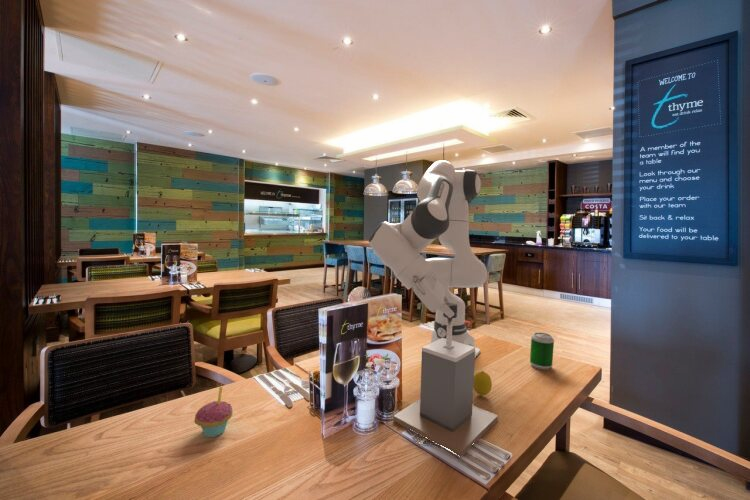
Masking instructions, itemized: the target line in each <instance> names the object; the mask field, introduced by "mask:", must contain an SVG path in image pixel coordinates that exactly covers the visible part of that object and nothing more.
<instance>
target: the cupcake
mask: <svg viewBox="0 0 750 500" xmlns="http://www.w3.org/2000/svg"><path fill="white" fill-rule="evenodd" d="M218 389H219V390H218V396H217V400H214V401H211V402H209V403H207V404H205V405H202V407H200V408H199V409H198V410H197V412H196V413H195V415H194V416H195V418H194V423H195V425H197V426H199V427H200V428H201V429H202V431H203V435H204V436H205V437H207V436H208V438H214V437H213V436H215V437H217V435H218V436H220V435H222V434H223V433H224V432H225V431H224V430H226V428H227V424H228V421H229V420H231V418H232V416H233V406H232V405H231V404H230V403H227V402H226V401H222V395H223V394H222V393H223V392H222V391H223V383H221V385H220V386H219V388H218ZM221 433H222V434H221Z"/></svg>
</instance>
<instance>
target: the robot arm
mask: <svg viewBox="0 0 750 500" xmlns="http://www.w3.org/2000/svg"><path fill="white" fill-rule="evenodd" d="M417 185H418V186H417V190H416V195H417V196H416V197H417V198H418V200H419V202H418V204H416V206H415V207H414V209H413V210H412V211H411V213H409V215H407V217H406V218H405V219H404V220H403V222H402V221H401V222H397V223H390V222H388V221H386V220H385V221H382V222H381V223H379V225H378V226H377V227H376V228H375V230H374V231H373V232H372V234H371V235H370V236H369V238H368V244H369V246H370V248H371V249H372V251H373V252H374V254H375V255H376V256H377V258H378V259H379V260H380V261H381V262H382V264H384V265H385V266H386V267H388V268H389V269H390V270H391V271H392V272H393V275H394V276H395V277H396V279H398V280H399V282H400V283H401V284H402V285H403V286H404V287H405V288H406V290H410V289H412V290H413V292H414V294H415V295H416V297H418V299H419V300H420V301H421V302H422V304H423V305H424V306H425V307H426V308H427V310H428V311H430V312H431V313H435V319H434V321H433V322H434V323H433V331H432V332H431V338H430V343H432V342H434V341H436V340H439V339H441V338H445V339H446V334H447V318H446V317H444V316H443V313H445V314H446V315H447V316H448V317H449V318H451V317H452V316H454V311H453V310H452V309H451V308H449V307H448V305H447V304H446V303H453V304H457V305H458V307H457V317H456V318H453V322H452V341H455V342H459V343H462V344H466V345H469V346H472V347H475V359H476V356H477V357H478V356H479V354H480V353H481V349H480V348H479V347H477V346H475V337H474V336H473V335H471V334H470V333H469V332H468V329H467V327H470V324H471V322H470V321H469V320H466V319H465V318H466V303H465V301H464V300H463V299H462V298H461V297H460V296H458V295H456V294H455V293H453V292H452V291H451V290H450V288H451V287H453V288H465V289H471V288H479V287H482V286H483V285H484V284H485V283H486V281H487V279H488V278H487V277H488V270H487V267H486V265H485V263H484V262H482V260H481V259H479V258H478V257H477V256H476V255H475V254H474V252H473V250H472V247H471V245H470V234H469V231H470V230H469V227H470V212H469V211H470V210H469V204H471V203H472V201H473V200H475V199H476V198H477V197H478V196H479V194H480V190H481V187H482V183H481V178H480V175H479V173H478V172H477V170H473V169H465V170H461V169H459V170H458V169H457V170H456V168H455V167H454V165H453V164H452V163H451V162H449V161H447V160H444V159H443V160H437V161H435V162H433V163H432V164H431V165H430V166H429V167H428V168H427V169H426V171H424V173H423V176H422V177H421V179H420V181H419V183H418V184H417ZM437 238H438V241H439V243H440V245H441V246H443V247H445V248H446V249H447V250H449V251H451V252H452V253H453V254H454V257H453V258H452V257H431V258H425V257H424V256H423V255H422V254H421V253H422V252H423V251H424V250H425V249H426V248H427V247H428V246H430V245H431V244H432V243H433V242H434V241H435V240H436V239H437Z"/></svg>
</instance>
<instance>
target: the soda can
mask: <svg viewBox="0 0 750 500" xmlns="http://www.w3.org/2000/svg"><path fill="white" fill-rule="evenodd" d="M530 339H531V340H530V352H529V353H530V355H529V356H530V357H529V363H530V364H531V366H532V367H534V368H535V369H537V370H541V371H547V370H550V369H551V368H552V367H553V359H554V358H553V357H554V343H555V339H554V338H553V336H552V335H551V334H550V333H549V334H548V333H545V332H534V333H533V334H532V335H531V338H530Z"/></svg>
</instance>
